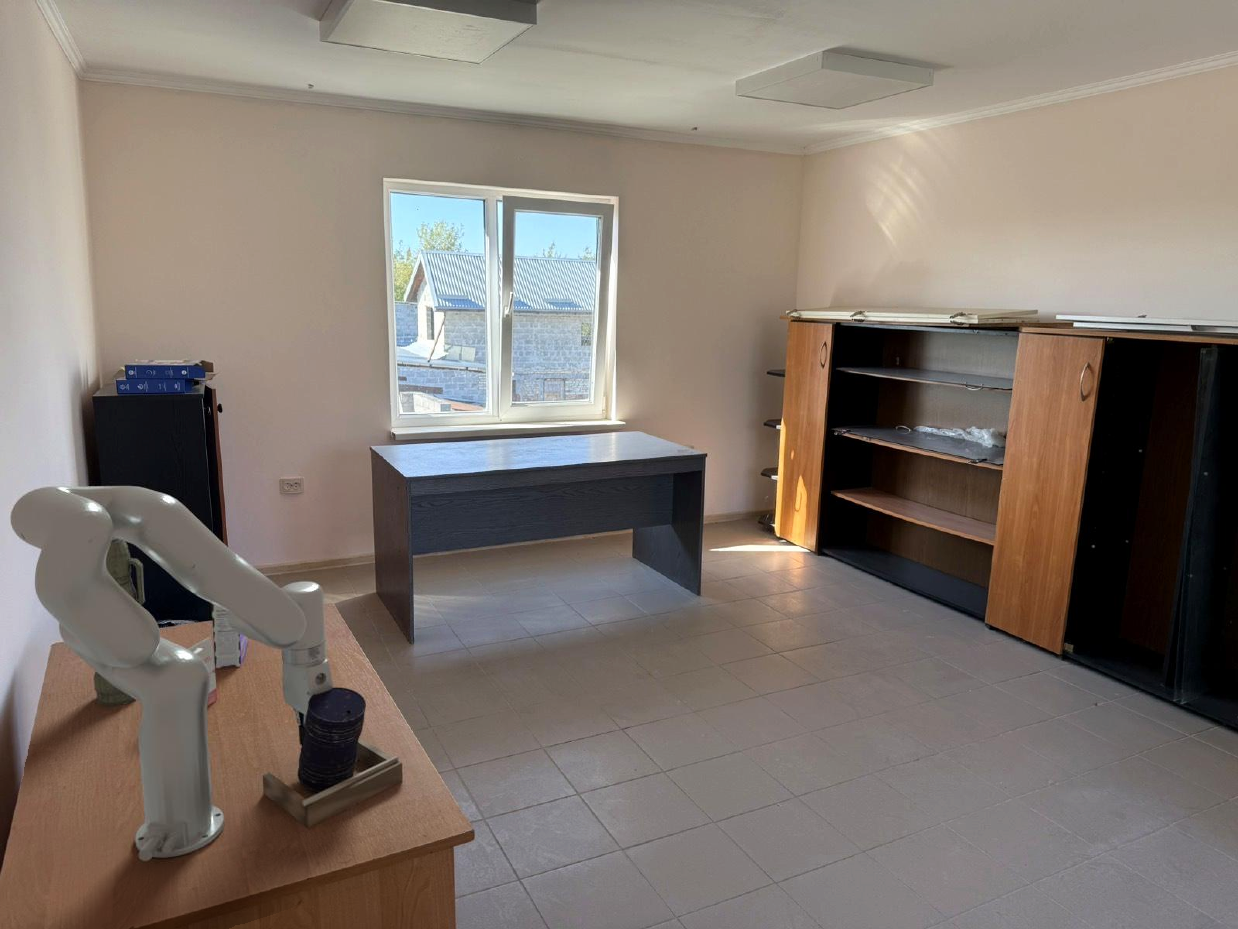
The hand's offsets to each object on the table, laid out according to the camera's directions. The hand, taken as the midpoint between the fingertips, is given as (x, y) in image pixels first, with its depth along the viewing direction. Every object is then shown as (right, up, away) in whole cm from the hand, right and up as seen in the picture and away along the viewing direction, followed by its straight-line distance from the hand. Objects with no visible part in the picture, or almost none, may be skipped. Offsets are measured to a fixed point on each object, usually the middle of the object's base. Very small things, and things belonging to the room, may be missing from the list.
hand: (310, 743), depth 151 cm
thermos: (-50, +2, +24) cm, 55 cm away
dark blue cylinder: (+4, -5, -3) cm, 7 cm away
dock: (+6, -6, -5) cm, 10 cm away
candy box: (-36, +5, +46) cm, 58 cm away
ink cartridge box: (-32, 0, +20) cm, 38 cm away
